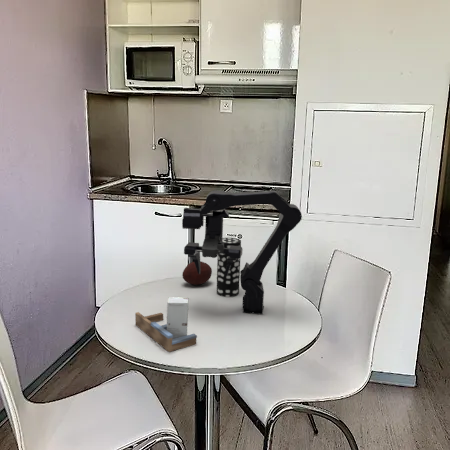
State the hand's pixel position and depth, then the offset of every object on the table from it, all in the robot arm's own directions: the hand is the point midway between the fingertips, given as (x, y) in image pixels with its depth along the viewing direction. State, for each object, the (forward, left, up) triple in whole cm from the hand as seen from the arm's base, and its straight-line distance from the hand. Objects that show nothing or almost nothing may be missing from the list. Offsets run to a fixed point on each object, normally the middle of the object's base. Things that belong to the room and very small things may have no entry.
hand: (212, 275), depth 164 cm
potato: (+10, -22, -12) cm, 27 cm away
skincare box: (+6, +25, -12) cm, 28 cm away
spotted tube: (-3, -16, -12) cm, 20 cm away
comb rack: (+10, +22, -12) cm, 27 cm away
